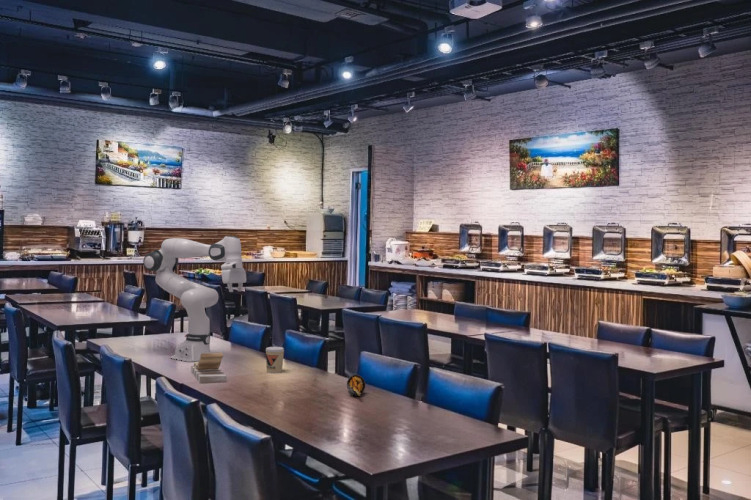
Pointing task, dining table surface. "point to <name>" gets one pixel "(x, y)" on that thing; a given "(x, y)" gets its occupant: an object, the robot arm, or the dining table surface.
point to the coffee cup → (274, 359)
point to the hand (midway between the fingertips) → (235, 291)
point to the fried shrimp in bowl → (356, 385)
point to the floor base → (208, 375)
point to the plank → (209, 361)
